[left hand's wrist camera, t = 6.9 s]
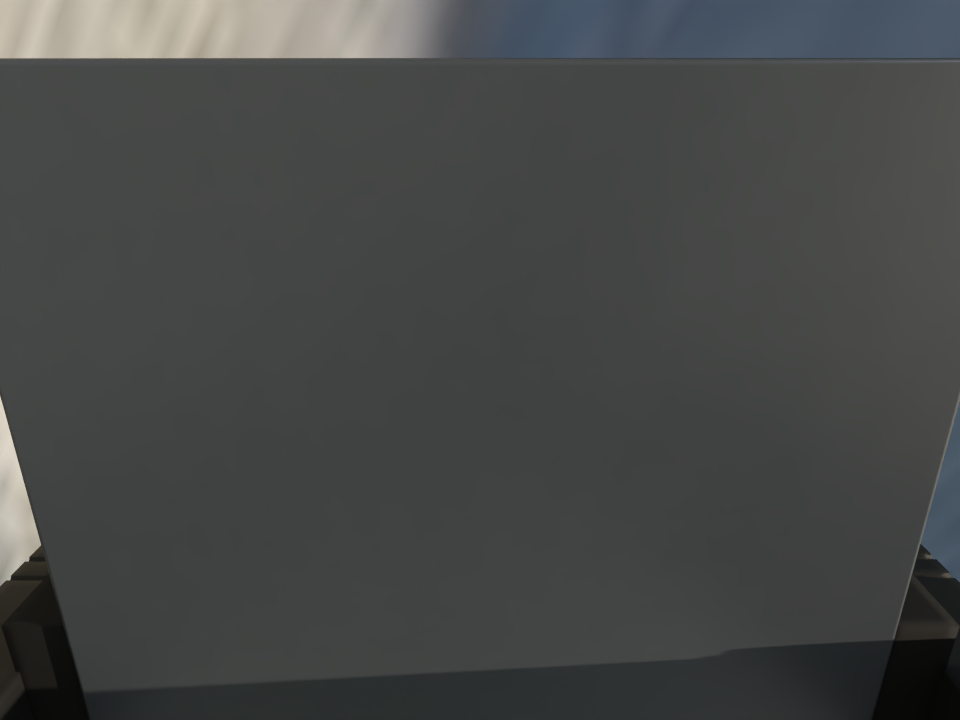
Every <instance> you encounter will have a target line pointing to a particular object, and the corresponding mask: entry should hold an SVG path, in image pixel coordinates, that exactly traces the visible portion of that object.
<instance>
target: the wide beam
mask: <svg viewBox="0 0 960 720" xmlns="http://www.w3.org/2000/svg"><path fill="white" fill-rule="evenodd" d="M0 396H1V399H2V403H3V407H4V410H5V414H6V418H7V421H8V425H9V429H10V432H11V436H12V440H13V443H14V447H15V450H16V454H17V458H18V461H19V465H20V469H21V472H22V476H23V480H24V483H25V487H26V491H27V494H28V498H29V502H30V505H31V509H32V512H33V516H34V520H35V523H36V527H37V531H38V534H39V538H40V542H41V545H42V549H43V553H44V556H45V560H46V564H47V567H48V571H49V574H50V578H51V582H52V585H53V589H54V593H55V596H56V600H57V604H58V607H59V611H60V615H61V618H62V622H63V626H64V629H65V633H66V636H67V640H68V644H69V647H70V651H71V655H72V658H73V662H74V666H75V669H76V673H77V677H78V680H79V684H80V688H81V691H82V695H83V698H84V702H85V706H86V709H87V713H88V717H89V720H872V718H873V714H874V711H875V707H876V703H877V700H878V696H879V692H880V689H881V685H882V682H883V678H884V674H885V671H886V667H887V663H888V660H889V656H890V652H891V649H892V645H893V641H894V638H895V634H896V631H897V627H898V623H899V620H900V616H901V612H902V609H903V605H904V601H905V598H906V594H907V590H908V587H909V583H910V579H911V576H912V572H913V569H914V565H915V561H916V558H917V554H918V550H919V547H920V543H921V539H922V536H923V532H924V528H925V525H926V521H927V518H928V514H929V510H930V507H931V503H932V499H933V496H934V492H935V488H936V485H937V481H938V477H939V474H940V470H941V467H942V463H943V459H944V456H945V452H946V448H947V445H948V441H949V437H950V434H951V430H952V426H953V423H954V419H955V415H956V412H957V408H958V405H959V401H960V58H102V59H0Z"/></svg>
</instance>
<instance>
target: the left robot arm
mask: <svg viewBox="0 0 960 720" xmlns="http://www.w3.org/2000/svg"><path fill="white" fill-rule="evenodd" d="M29 558H30V559H29V562H24V563H23V564H22V565H21V566H20V567H19V568H18V569H17V570H16V571H15V572H14V573H13V574H12V575H11V580H10V581H5V582H4V583H3V584H2V585H1V586H0V720H89V717H88V713H87V709H86V706H85V702H84V698H83V695H82V691H81V688H80V684H79V680H78V677H77V673H76V669H75V666H74V662H73V658H72V655H71V651H70V647H69V644H68V640H67V636H66V633H65V629H64V626H63V622H62V618H61V615H60V611H59V607H58V604H57V600H56V596H55V593H54V589H53V585H52V582H51V578H50V574H49V571H48V567H47V564H46V560H45V556H44V553H43V549H42V545H41V546H40V547H39V548H38V549H37V550H36V551H35V552H34V553H33V554H32V555H31V556H30V557H29ZM872 720H960V583H959V582H958V581H957V580H956V579H955V578H951V576H950V573H949V572H948V571H947V570H946V569H945V568H944V567H943V566H942V565H941V564H940V563H939V562H938V561H937V560H936V559H932V555H931V554H930V553H929V552H928V551H927V550H926V549H925V548H924V547H923V546H922V545H921V544H920V547H919V550H918V554H917V558H916V561H915V565H914V569H913V572H912V576H911V579H910V583H909V587H908V590H907V594H906V598H905V601H904V605H903V609H902V612H901V616H900V620H899V623H898V627H897V631H896V634H895V638H894V641H893V645H892V649H891V652H890V656H889V660H888V663H887V667H886V671H885V674H884V678H883V682H882V685H881V689H880V692H879V696H878V700H877V703H876V707H875V711H874V714H873V718H872Z"/></svg>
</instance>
